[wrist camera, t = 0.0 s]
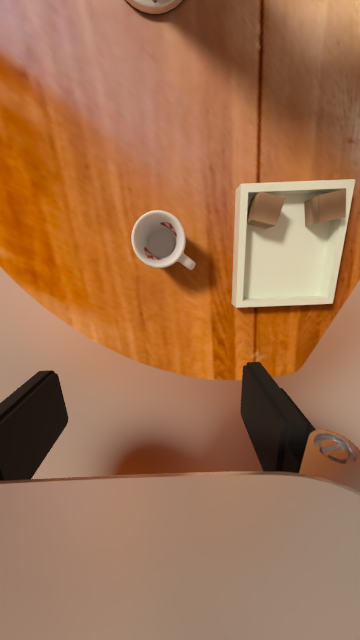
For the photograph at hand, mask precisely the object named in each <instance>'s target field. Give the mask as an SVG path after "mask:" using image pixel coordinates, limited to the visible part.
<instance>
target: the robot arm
mask: <svg viewBox="0 0 360 640" xmlns="http://www.w3.org/2000/svg"><path fill="white" fill-rule="evenodd" d="M126 1H127V2H129V3H130V4H131V5H132V6H133V7H135V8H137V9H138V10H140V11H142V12H146V13H149V14H160V13H164V12H168V11H169V10H171V9H173V8H175V7H176V6H177V5H178V4H180V3H181V2H182V1H183V0H126ZM241 416H242V419H243V422H244V424H245V427H246V429H247V432H248V434H249V436H250V439H251V442H252V444H253V447H254V449H255V452H256V454H257V456H258V459H259V461H260V464H261V466H262V469H263V471H242V472H202V473H201V472H200V473H172V474H145V475H119V476H97V477H96V476H95V477H72V478H51V479H31V478H32V476H33V475H34V474H35V472H36V470H37V469H38V467H39V466H40V464H41V463H42V461H43V460H44V458H45V457H46V455H47V454H48V452H49V451H50V449H51V448H52V446H53V444H54V443H55V442H56V440H57V439H58V437H59V436H60V434H61V433H62V431H63V430H64V428H65V427H66V425H67V423H68V415H67V411H66V407H65V402H64V398H63V394H62V390H61V386H60V382H59V377H58V375H57V374H56V373H55V372H54V371H39V372H38V373H36V374H35V375H34V376H33V377H32V378H30V379H29V380H28V381H27V382H25V383H24V384H23V385H22V386H21V387H20V388H18V389H17V390H16V391H15V392H13V393H12V394H11V395H10V396H9V397H7V398H6V399H5V400H4V401H2V402H1V403H0V640H360V450H359V449H358V447H356V446H355V445H354V444H353V443H352V442H351V441H350V440H348V439H347V438H345V437H343V436H342V435H339V434H337V433H335V432H332V431H329V430H315V428H314V427H313V426H312V425H311V423H310V422H309V421H308V420H307V418H306V417H305V416H304V415H303V413H302V412H301V411H300V410H299V408H298V407H297V406H296V405H295V403H294V402H293V401H292V400H291V398H290V397H289V396H288V395H287V393H286V392H285V391H284V390H283V389H282V388H279V386H278V385H277V384H276V382H275V381H274V380H273V379H272V377H271V376H270V375H269V373H268V372H267V371H266V370H265V368H264V367H263V366H262V364H261V363H260V362H248V363H247V365H245V366H243V378H242V397H241Z"/></svg>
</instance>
